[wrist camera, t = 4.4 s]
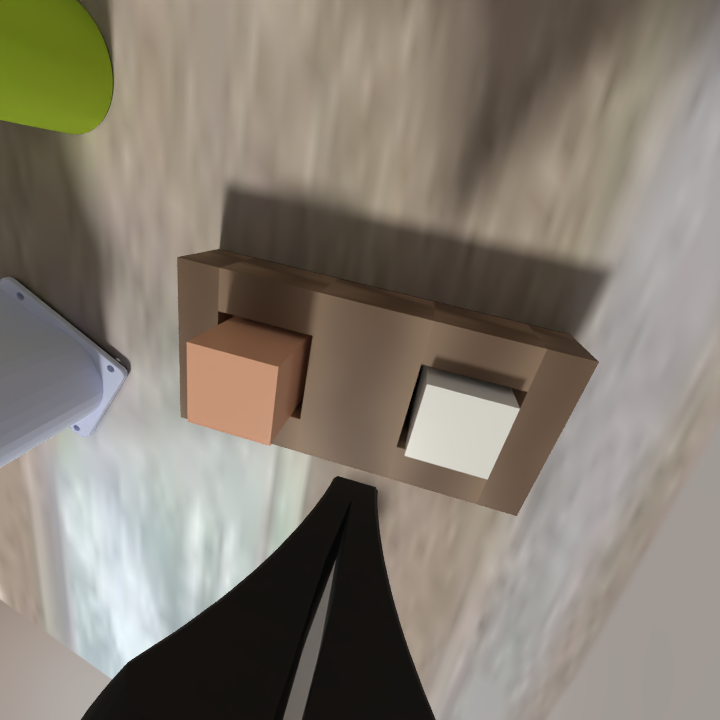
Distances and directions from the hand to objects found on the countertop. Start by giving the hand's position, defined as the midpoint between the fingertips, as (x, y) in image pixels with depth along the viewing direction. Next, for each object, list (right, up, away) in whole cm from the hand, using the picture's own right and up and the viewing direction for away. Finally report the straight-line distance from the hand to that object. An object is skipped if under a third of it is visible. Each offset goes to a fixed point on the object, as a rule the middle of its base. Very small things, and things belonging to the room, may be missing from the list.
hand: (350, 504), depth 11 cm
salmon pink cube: (-4, +5, +8) cm, 10 cm away
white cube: (+6, +3, +9) cm, 11 cm away
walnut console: (+1, +4, +9) cm, 10 cm away
